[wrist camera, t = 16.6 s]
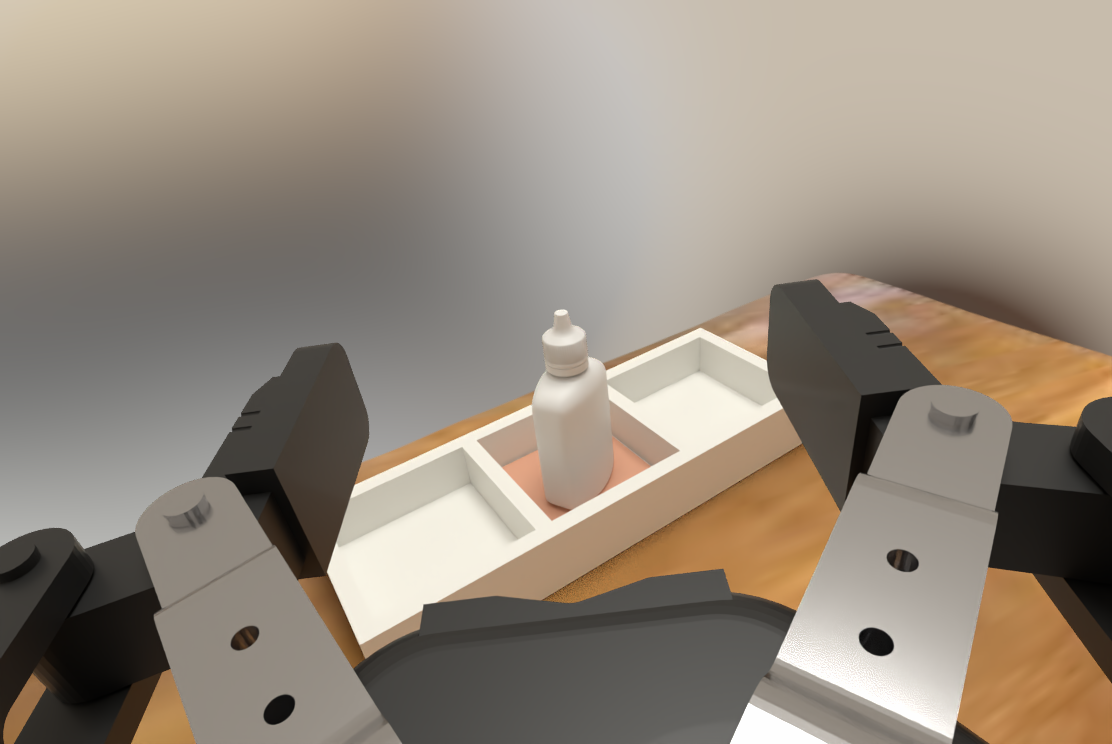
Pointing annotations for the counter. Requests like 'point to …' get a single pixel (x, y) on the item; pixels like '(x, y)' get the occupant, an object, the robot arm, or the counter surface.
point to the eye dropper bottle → (572, 418)
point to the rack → (519, 498)
